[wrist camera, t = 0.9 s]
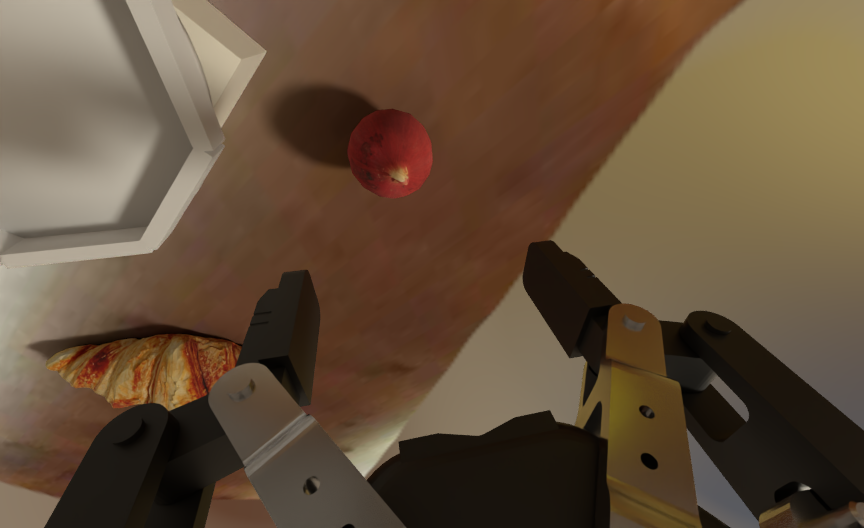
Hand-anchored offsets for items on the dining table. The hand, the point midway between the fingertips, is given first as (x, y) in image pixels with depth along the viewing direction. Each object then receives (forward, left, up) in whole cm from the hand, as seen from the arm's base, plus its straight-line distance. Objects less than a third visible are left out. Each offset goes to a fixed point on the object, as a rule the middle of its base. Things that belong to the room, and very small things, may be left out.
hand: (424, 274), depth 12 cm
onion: (0, 0, -17) cm, 17 cm away
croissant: (+21, -23, -18) cm, 36 cm away
